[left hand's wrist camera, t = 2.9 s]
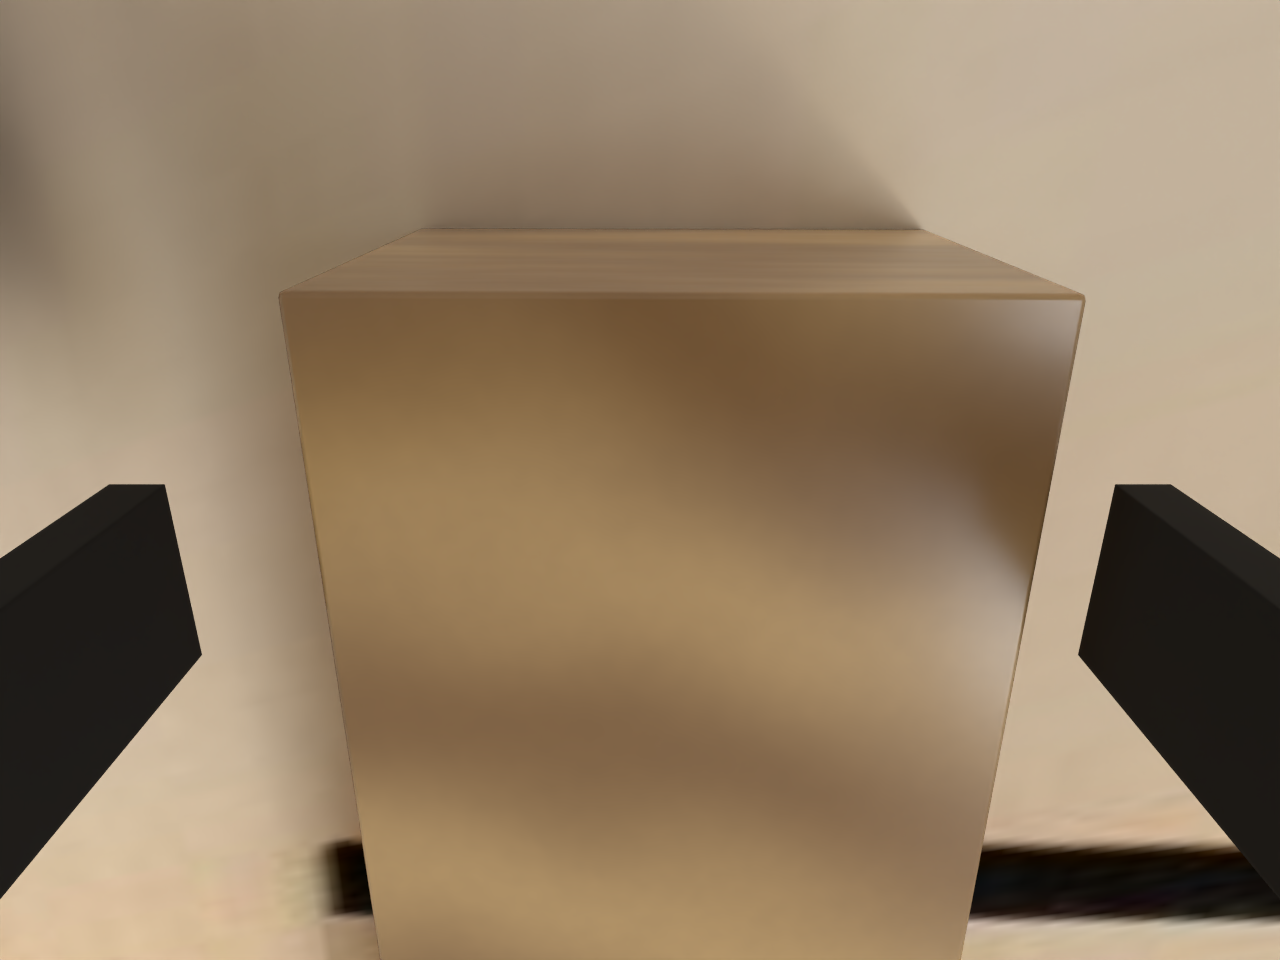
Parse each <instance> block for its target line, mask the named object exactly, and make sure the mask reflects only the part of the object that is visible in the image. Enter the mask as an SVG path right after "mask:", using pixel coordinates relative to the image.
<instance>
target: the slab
mask: <svg viewBox="0 0 1280 960" xmlns="http://www.w3.org/2000/svg"><path fill="white" fill-rule="evenodd" d="M279 303H280V310H281V316H282V323H283V329H284V336H285V342H286V349H287V355H288V362H289V368H290V375H291V381H292V388H293V394H294V401H295V407H296V414H297V420H298V427H299V433H300V440H301V446H302V453H303V459H304V466H305V472H306V479H307V485H308V492H309V498H310V505H311V511H312V518H313V525H314V531H315V538H316V544H317V551H318V557H319V564H320V570H321V577H322V583H323V590H324V596H325V603H326V609H327V616H328V622H329V629H330V635H331V642H332V648H333V655H334V661H335V668H336V674H337V681H338V687H339V694H340V700H341V707H342V713H343V720H344V726H345V733H346V740H347V746H348V753H349V759H350V766H351V772H352V779H353V785H354V792H355V798H356V805H357V811H358V818H359V824H360V831H361V837H362V844H363V850H364V857H365V863H366V870H367V876H368V883H369V889H370V896H371V902H372V909H373V915H374V922H375V928H376V935H377V941H378V948H379V955H380V960H961V955H962V950H963V944H964V939H965V934H966V929H967V923H968V918H969V913H970V908H971V902H972V897H973V892H974V886H975V881H976V876H977V871H978V865H979V860H980V855H981V849H982V844H983V839H984V834H985V828H986V823H987V818H988V813H989V807H990V802H991V797H992V791H993V786H994V781H995V776H996V770H997V765H998V760H999V755H1000V749H1001V744H1002V739H1003V733H1004V728H1005V723H1006V718H1007V712H1008V707H1009V702H1010V696H1011V691H1012V686H1013V681H1014V675H1015V670H1016V665H1017V660H1018V654H1019V649H1020V644H1021V638H1022V633H1023V628H1024V623H1025V617H1026V612H1027V607H1028V602H1029V596H1030V591H1031V586H1032V580H1033V575H1034V570H1035V565H1036V559H1037V554H1038V549H1039V543H1040V538H1041V533H1042V528H1043V522H1044V517H1045V512H1046V507H1047V501H1048V496H1049V491H1050V485H1051V480H1052V475H1053V470H1054V464H1055V459H1056V454H1057V448H1058V443H1059V438H1060V433H1061V427H1062V422H1063V417H1064V412H1065V406H1066V401H1067V396H1068V390H1069V385H1070V380H1071V375H1072V369H1073V364H1074V359H1075V354H1076V348H1077V343H1078V338H1079V332H1080V327H1081V322H1082V317H1083V311H1084V306H1085V296H1084V295H1083V294H1080V293H1078V292H1075V291H1073V290H1071V289H1068V288H1066V287H1063V286H1061V285H1058V284H1056V283H1053V282H1051V281H1048V280H1046V279H1043V278H1041V277H1039V276H1036V275H1034V274H1031V273H1029V272H1026V271H1024V270H1021V269H1019V268H1016V267H1014V266H1011V265H1009V264H1007V263H1004V262H1002V261H999V260H997V259H994V258H992V257H989V256H987V255H984V254H982V253H979V252H977V251H975V250H972V249H970V248H967V247H965V246H962V245H960V244H957V243H955V242H952V241H950V240H947V239H945V238H943V237H940V236H938V235H935V234H933V233H930V232H928V231H925V230H785V229H420V230H418V231H416V232H413V233H411V234H409V235H407V236H404V237H402V238H400V239H398V240H395V241H393V242H391V243H389V244H387V245H384V246H382V247H380V248H378V249H375V250H373V251H371V252H369V253H367V254H364V255H362V256H360V257H358V258H355V259H353V260H351V261H349V262H346V263H344V264H342V265H340V266H338V267H335V268H333V269H331V270H329V271H326V272H324V273H322V274H320V275H318V276H315V277H313V278H311V279H309V280H306V281H304V282H302V283H300V284H297V285H295V286H293V287H291V288H289V289H286V290H284V291H282V292H280V294H279Z"/></svg>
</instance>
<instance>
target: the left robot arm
mask: <svg viewBox="0 0 1280 960" xmlns="http://www.w3.org/2000/svg"><path fill="white" fill-rule="evenodd" d="M201 655H202V653H201V649H200V644H199V639H198V635H197V630H196V626H195V621H194V616H193V612H192V607H191V603H190V598H189V594H188V589H187V584H186V580H185V575H184V571H183V566H182V562H181V557H180V552H179V548H178V543H177V539H176V534H175V529H174V525H173V520H172V516H171V511H170V507H169V502H168V497H167V493H166V488H165V484H109V485H108V486H106V487H105V488H103V489H102V490H100V491H99V492H97V493H96V494H94V495H93V496H92V497H90V498H89V499H87V500H86V501H84V502H83V503H81V504H80V505H78V506H77V507H75V508H74V509H72V510H71V511H69V512H68V513H66V514H65V515H64V516H62V517H61V518H59V519H58V520H56V521H55V522H53V523H52V524H50V525H49V526H47V527H46V528H44V529H43V530H41V531H40V532H39V533H37V534H36V535H34V536H33V537H31V538H30V539H28V540H27V541H25V542H24V543H22V544H21V545H19V546H18V547H16V548H15V549H13V550H12V551H11V552H9V553H8V554H6V555H5V556H3V557H2V558H0V899H1V898H2V896H3V895H4V894H5V893H6V892H7V890H8V889H9V888H10V887H11V885H12V884H13V883H14V882H15V881H16V879H17V878H18V877H19V876H20V875H21V873H22V872H23V871H24V870H25V868H26V867H27V866H28V865H29V864H30V862H31V861H32V860H33V859H34V858H35V856H36V855H37V854H38V853H39V852H40V850H41V849H42V848H43V847H44V845H45V844H46V843H47V842H48V841H49V839H50V838H51V837H52V836H53V835H54V833H55V832H56V831H57V830H58V829H59V827H60V826H61V825H62V824H63V822H64V821H65V820H66V819H67V818H68V816H69V815H70V814H71V813H72V812H73V810H74V809H75V808H76V807H77V805H78V804H79V803H80V802H81V801H82V799H83V798H84V797H85V796H86V795H87V793H88V792H89V791H90V790H91V789H92V787H93V786H94V785H95V784H96V782H97V781H98V780H99V779H100V778H101V776H102V775H103V774H104V773H105V772H106V770H107V769H108V768H109V767H110V766H111V764H112V763H113V762H114V761H115V759H116V758H117V757H118V756H119V755H120V753H121V752H122V751H123V750H124V749H125V747H126V746H127V745H128V744H129V742H130V741H131V740H132V739H133V738H134V736H135V735H136V734H137V733H138V732H139V730H140V729H141V728H142V727H143V726H144V724H145V723H146V722H147V721H148V719H149V718H150V717H151V716H152V715H153V713H154V712H155V711H156V710H157V709H158V707H159V706H160V705H161V704H162V703H163V701H164V700H165V699H166V698H167V696H168V695H169V694H170V693H171V692H172V690H173V689H174V688H175V687H176V686H177V684H178V683H179V682H180V681H181V679H182V678H183V677H184V676H185V675H186V673H187V672H188V671H189V670H190V669H191V667H192V666H193V665H194V664H195V663H196V661H197V660H198V659H199V658H200V656H201ZM1078 655H1079V656H1080V658H1081V659H1082V660H1083V661H1084V663H1085V664H1086V665H1087V666H1088V667H1089V669H1090V670H1091V671H1092V672H1093V673H1094V675H1095V676H1096V677H1097V678H1098V679H1099V681H1100V682H1101V683H1102V684H1103V686H1104V687H1105V688H1106V689H1107V690H1108V692H1109V693H1110V694H1111V695H1112V696H1113V698H1114V699H1115V700H1116V701H1117V703H1118V704H1119V705H1120V706H1121V707H1122V709H1123V710H1124V711H1125V712H1126V713H1127V715H1128V716H1129V717H1130V718H1131V719H1132V721H1133V722H1134V723H1135V724H1136V726H1137V727H1138V728H1139V729H1140V730H1141V732H1142V733H1143V734H1144V735H1145V736H1146V738H1147V739H1148V740H1149V741H1150V742H1151V744H1152V745H1153V746H1154V747H1155V749H1156V750H1157V751H1158V752H1159V753H1160V755H1161V756H1162V757H1163V758H1164V759H1165V761H1166V762H1167V763H1168V764H1169V766H1170V767H1171V768H1172V769H1173V770H1174V772H1175V773H1176V774H1177V775H1178V776H1179V778H1180V779H1181V780H1182V781H1183V782H1184V784H1185V785H1186V786H1187V787H1188V789H1189V790H1190V791H1191V792H1192V793H1193V795H1194V796H1195V797H1196V798H1197V799H1198V801H1199V802H1200V803H1201V804H1202V805H1203V807H1204V808H1205V809H1206V810H1207V812H1208V813H1209V814H1210V815H1211V816H1212V818H1213V819H1214V820H1215V821H1216V822H1217V824H1218V825H1219V826H1220V827H1221V829H1222V830H1223V831H1224V832H1225V833H1226V835H1227V836H1228V837H1229V838H1230V839H1231V841H1232V842H1233V843H1234V844H1235V845H1236V847H1237V848H1238V849H1239V850H1240V852H1241V853H1242V854H1243V855H1244V856H1245V858H1246V859H1247V860H1248V861H1249V862H1250V864H1251V865H1252V866H1253V867H1254V869H1255V870H1256V871H1257V872H1258V873H1259V875H1260V876H1261V877H1262V878H1263V879H1264V881H1265V882H1266V883H1267V884H1268V885H1269V887H1270V888H1271V889H1272V890H1273V892H1274V893H1275V894H1276V895H1277V896H1278V898H1279V899H1280V558H1278V557H1277V556H1275V555H1274V554H1272V553H1271V552H1269V551H1268V550H1266V549H1265V548H1264V547H1262V546H1261V545H1259V544H1258V543H1256V542H1255V541H1253V540H1252V539H1250V538H1249V537H1247V536H1246V535H1244V534H1243V533H1241V532H1240V531H1239V530H1237V529H1236V528H1234V527H1233V526H1231V525H1230V524H1228V523H1227V522H1225V521H1224V520H1222V519H1221V518H1219V517H1218V516H1216V515H1215V514H1214V513H1212V512H1211V511H1209V510H1208V509H1206V508H1205V507H1203V506H1202V505H1200V504H1199V503H1197V502H1196V501H1194V500H1193V499H1191V498H1190V497H1188V496H1187V495H1186V494H1184V493H1183V492H1181V491H1180V490H1178V489H1177V488H1175V487H1174V486H1172V485H1171V484H1115V488H1114V493H1113V497H1112V502H1111V507H1110V511H1109V516H1108V520H1107V525H1106V529H1105V534H1104V539H1103V543H1102V548H1101V552H1100V557H1099V562H1098V566H1097V571H1096V575H1095V580H1094V584H1093V589H1092V594H1091V598H1090V603H1089V607H1088V612H1087V616H1086V621H1085V626H1084V630H1083V635H1082V639H1081V644H1080V649H1079V653H1078Z"/></svg>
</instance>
